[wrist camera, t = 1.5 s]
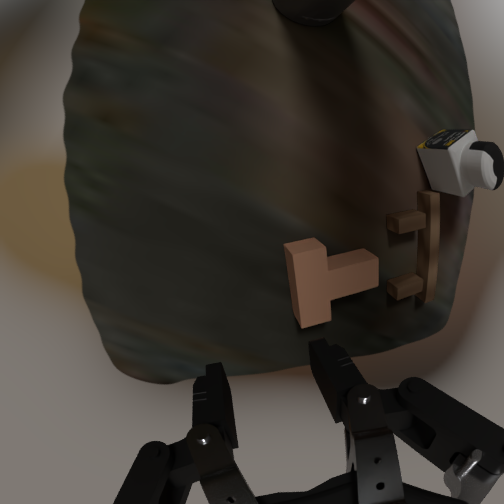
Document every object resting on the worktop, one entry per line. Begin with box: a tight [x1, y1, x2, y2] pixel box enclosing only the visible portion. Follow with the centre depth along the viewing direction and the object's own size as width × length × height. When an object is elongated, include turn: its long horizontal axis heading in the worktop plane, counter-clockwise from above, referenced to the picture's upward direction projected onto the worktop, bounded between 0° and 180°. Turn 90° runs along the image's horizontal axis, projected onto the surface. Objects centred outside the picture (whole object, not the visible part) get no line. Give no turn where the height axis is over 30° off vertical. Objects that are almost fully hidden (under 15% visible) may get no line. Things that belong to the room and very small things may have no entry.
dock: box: [386, 190, 440, 303], centre depth 36 cm, size 17×8×3 cm, turn 10°
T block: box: [284, 238, 379, 328], centre depth 35 cm, size 10×11×4 cm
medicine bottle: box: [417, 130, 504, 197], centre depth 28 cm, size 7×7×12 cm
